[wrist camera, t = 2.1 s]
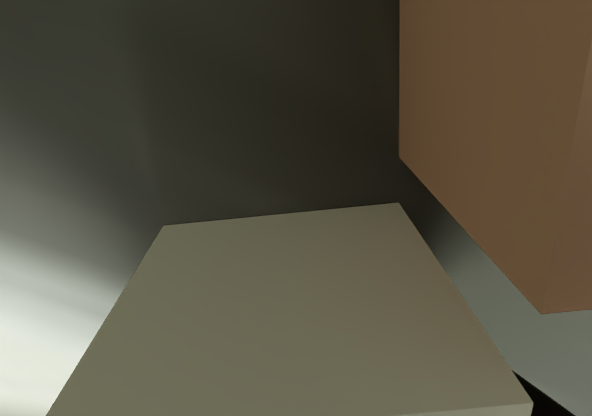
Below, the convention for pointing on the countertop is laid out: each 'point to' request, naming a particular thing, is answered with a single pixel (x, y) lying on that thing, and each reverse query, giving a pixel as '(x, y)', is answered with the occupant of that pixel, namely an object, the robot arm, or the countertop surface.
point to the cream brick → (292, 326)
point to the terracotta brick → (506, 133)
